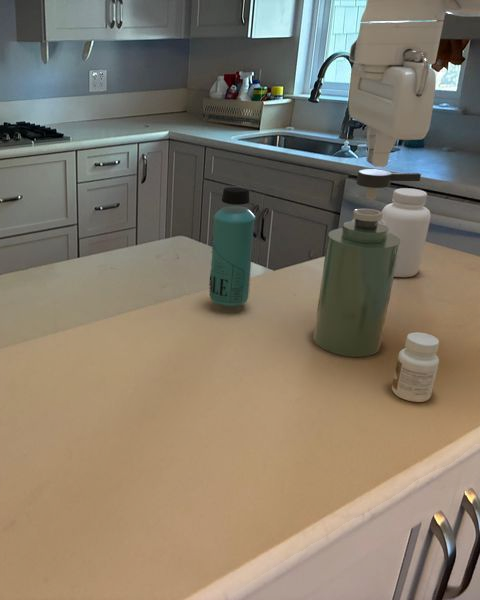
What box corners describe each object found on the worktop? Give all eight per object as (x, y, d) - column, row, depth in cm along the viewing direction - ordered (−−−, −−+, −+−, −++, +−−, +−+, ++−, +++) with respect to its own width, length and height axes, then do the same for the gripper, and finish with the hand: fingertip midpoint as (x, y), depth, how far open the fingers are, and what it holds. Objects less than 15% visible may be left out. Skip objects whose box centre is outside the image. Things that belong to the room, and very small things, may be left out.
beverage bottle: (252, 303, 103) (264, 184, 95) (240, 318, 97) (251, 194, 89) (215, 296, 106) (223, 180, 98) (201, 310, 100) (208, 190, 92)
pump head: (409, 196, 82) (414, 169, 81) (420, 204, 78) (426, 175, 77) (350, 195, 83) (354, 168, 82) (358, 203, 79) (363, 175, 78)
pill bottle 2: (397, 380, 80) (409, 326, 76) (435, 392, 77) (448, 337, 74) (385, 394, 77) (397, 339, 74) (424, 407, 74) (437, 350, 71)
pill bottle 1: (416, 281, 110) (433, 199, 103) (367, 273, 113) (381, 193, 107) (420, 267, 116) (437, 188, 110) (374, 260, 120) (388, 184, 113)
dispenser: (369, 329, 93) (392, 203, 85) (388, 358, 85) (416, 222, 77) (307, 327, 94) (325, 202, 86) (320, 355, 86) (341, 221, 78)
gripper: (462, 51, 64) (433, 183, 69) (396, 45, 82) (378, 150, 88) (397, 52, 64) (374, 182, 70) (346, 46, 83) (332, 150, 89)
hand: (376, 164), depth 79 cm, fingers closed
